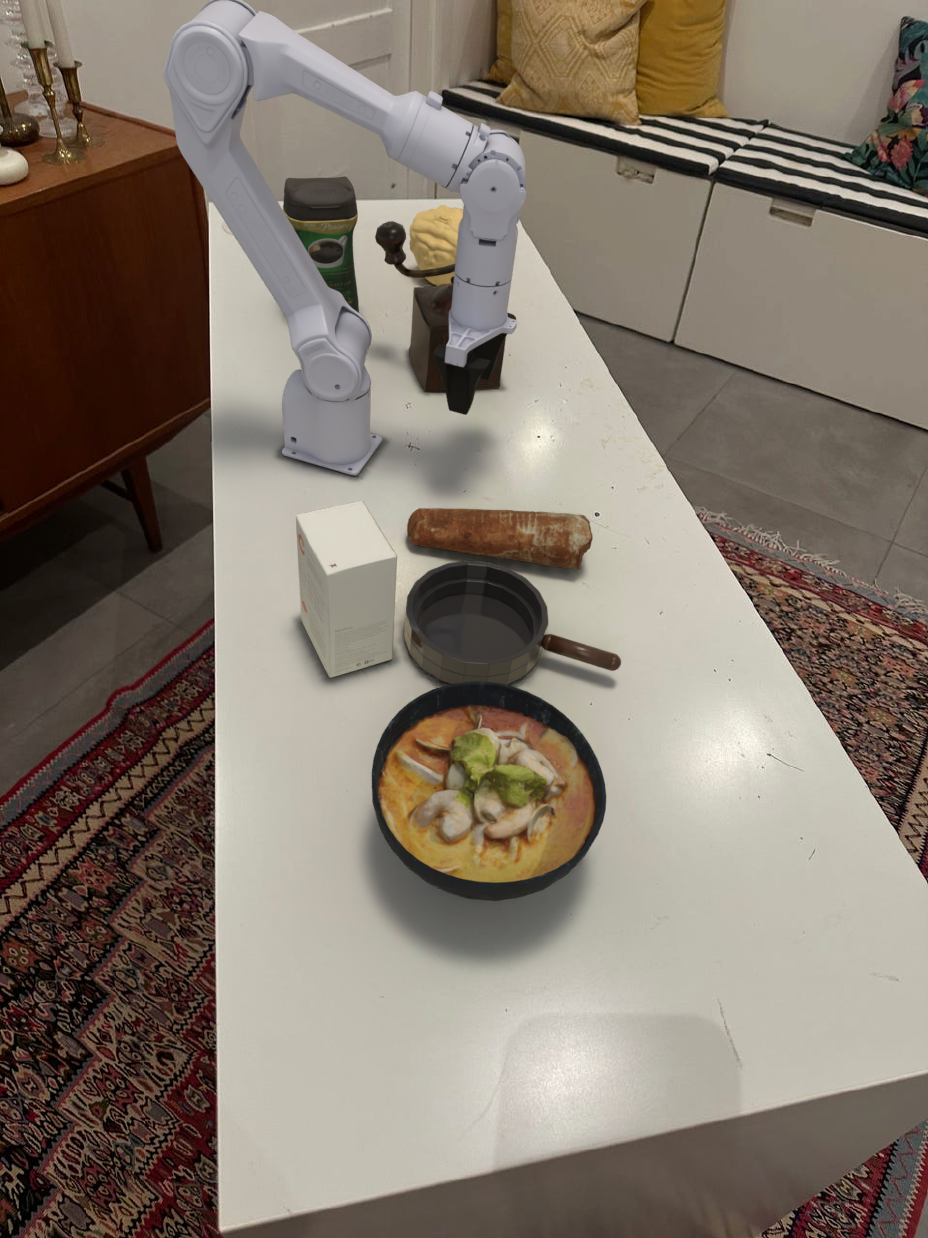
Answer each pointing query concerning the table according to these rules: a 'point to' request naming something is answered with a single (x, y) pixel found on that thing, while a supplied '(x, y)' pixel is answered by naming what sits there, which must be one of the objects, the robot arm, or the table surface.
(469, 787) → the bowl
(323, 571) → the small box
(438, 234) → the sculpture
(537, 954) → the table surface
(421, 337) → the manual coffee grinder
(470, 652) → the pan
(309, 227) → the coffee jar
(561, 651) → the pan handle
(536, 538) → the bread
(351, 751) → the table surface
